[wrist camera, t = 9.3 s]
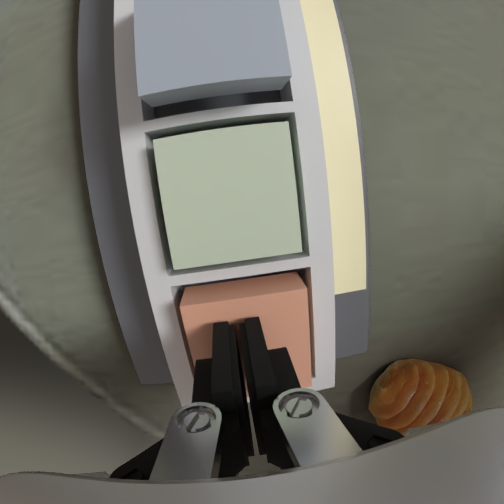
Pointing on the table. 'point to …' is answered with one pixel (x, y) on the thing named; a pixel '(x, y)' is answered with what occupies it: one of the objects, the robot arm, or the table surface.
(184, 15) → the slate key
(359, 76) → the table surface
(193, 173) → the sage key
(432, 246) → the table surface
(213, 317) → the terracotta key
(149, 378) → the keypad
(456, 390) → the pastry
